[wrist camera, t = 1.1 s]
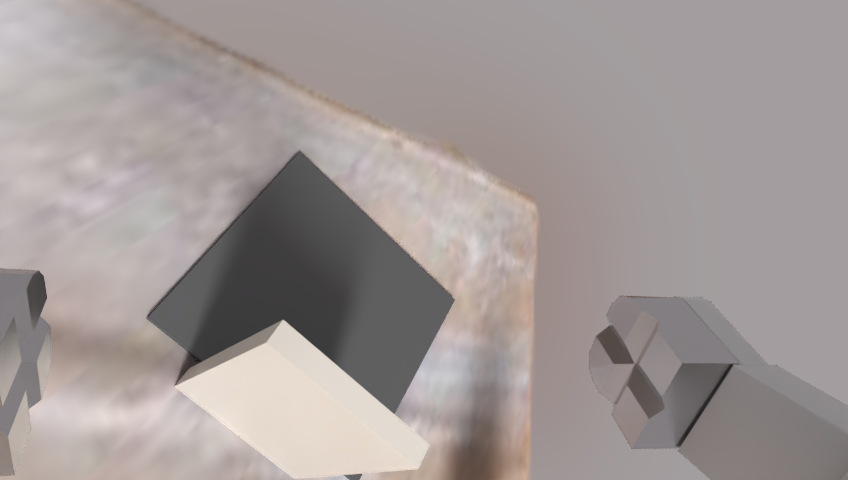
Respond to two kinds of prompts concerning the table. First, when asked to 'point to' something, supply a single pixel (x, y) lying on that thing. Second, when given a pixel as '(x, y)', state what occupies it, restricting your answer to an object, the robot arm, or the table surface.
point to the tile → (301, 408)
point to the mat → (312, 286)
